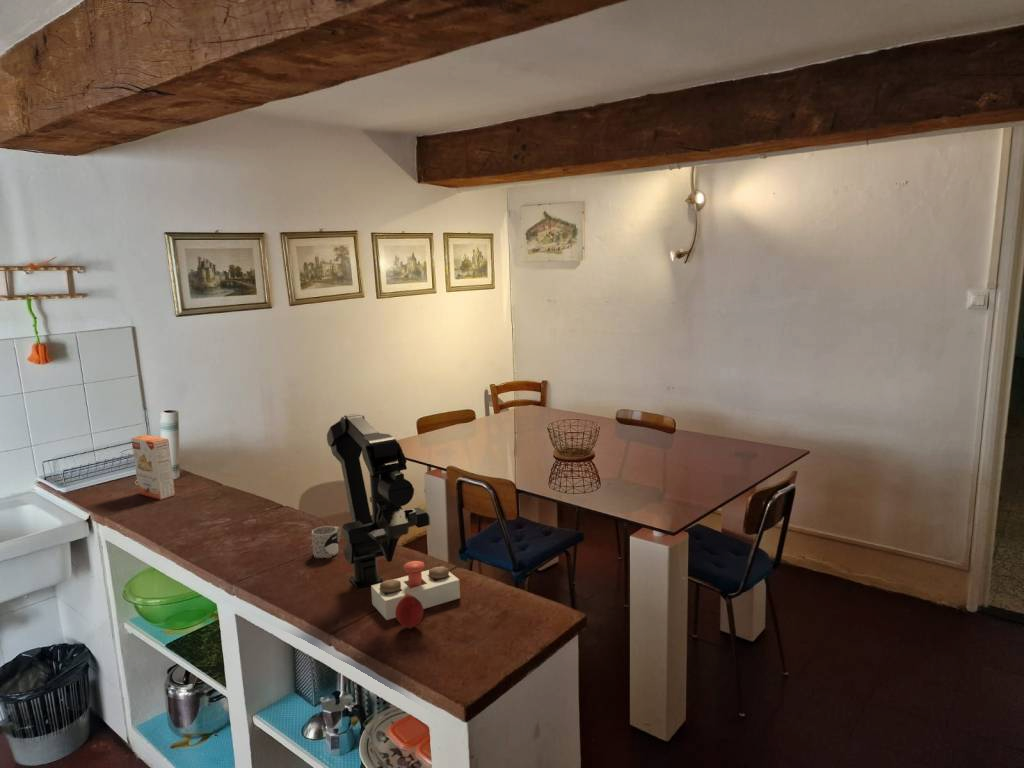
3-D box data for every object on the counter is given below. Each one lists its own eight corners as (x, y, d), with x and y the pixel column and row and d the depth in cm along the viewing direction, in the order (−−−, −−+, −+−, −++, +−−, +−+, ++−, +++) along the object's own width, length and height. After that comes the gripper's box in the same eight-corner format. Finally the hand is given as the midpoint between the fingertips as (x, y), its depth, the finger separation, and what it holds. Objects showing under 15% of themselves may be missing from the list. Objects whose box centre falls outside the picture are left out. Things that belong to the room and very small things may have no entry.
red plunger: (402, 586, 161) (400, 564, 160) (420, 581, 163) (419, 559, 162) (410, 594, 157) (408, 571, 156) (428, 588, 159) (427, 565, 158)
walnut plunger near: (378, 605, 158) (376, 583, 157) (397, 600, 160) (396, 577, 159) (385, 613, 154) (384, 590, 153) (405, 608, 156) (403, 585, 156)
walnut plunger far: (426, 591, 164) (425, 569, 163) (444, 586, 166) (443, 565, 166) (435, 599, 160) (433, 576, 159) (453, 593, 163) (452, 571, 162)
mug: (329, 560, 185) (327, 536, 184) (308, 557, 187) (306, 534, 186) (350, 545, 195) (348, 522, 194) (329, 543, 197) (327, 520, 196)
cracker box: (137, 494, 248) (130, 437, 244) (154, 490, 253) (147, 433, 249) (159, 500, 240) (152, 441, 237) (176, 495, 245) (169, 437, 242)
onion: (425, 620, 151) (423, 586, 150) (422, 634, 146) (420, 598, 144) (398, 621, 151) (396, 587, 150) (395, 635, 145) (392, 599, 144)
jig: (372, 604, 160) (371, 585, 159) (443, 583, 169) (442, 566, 168) (386, 620, 152) (385, 600, 151) (460, 597, 161) (459, 579, 160)
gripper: (355, 512, 141) (360, 585, 144) (438, 494, 151) (442, 563, 153) (338, 498, 151) (343, 566, 153) (417, 482, 160) (421, 547, 163)
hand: (389, 561), depth 155 cm, fingers closed
